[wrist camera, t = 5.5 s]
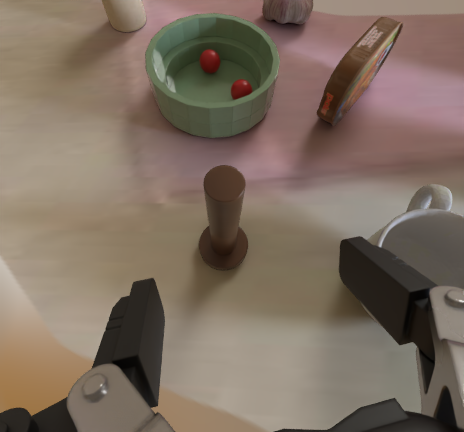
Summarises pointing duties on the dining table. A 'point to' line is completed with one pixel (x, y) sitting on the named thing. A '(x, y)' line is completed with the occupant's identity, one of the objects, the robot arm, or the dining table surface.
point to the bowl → (212, 74)
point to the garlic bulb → (287, 10)
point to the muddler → (223, 219)
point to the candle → (125, 14)
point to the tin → (358, 69)
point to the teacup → (427, 237)
